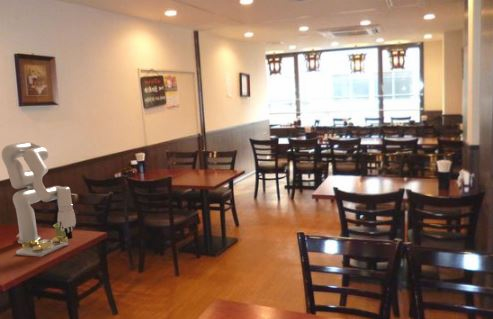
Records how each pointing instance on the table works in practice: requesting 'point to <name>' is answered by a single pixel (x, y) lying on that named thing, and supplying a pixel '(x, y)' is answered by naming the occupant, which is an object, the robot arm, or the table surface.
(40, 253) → the base plate
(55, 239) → the knob
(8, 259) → the table surface
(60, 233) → the plant pot
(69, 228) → the robot arm
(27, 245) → the knob near
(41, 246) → the knob
